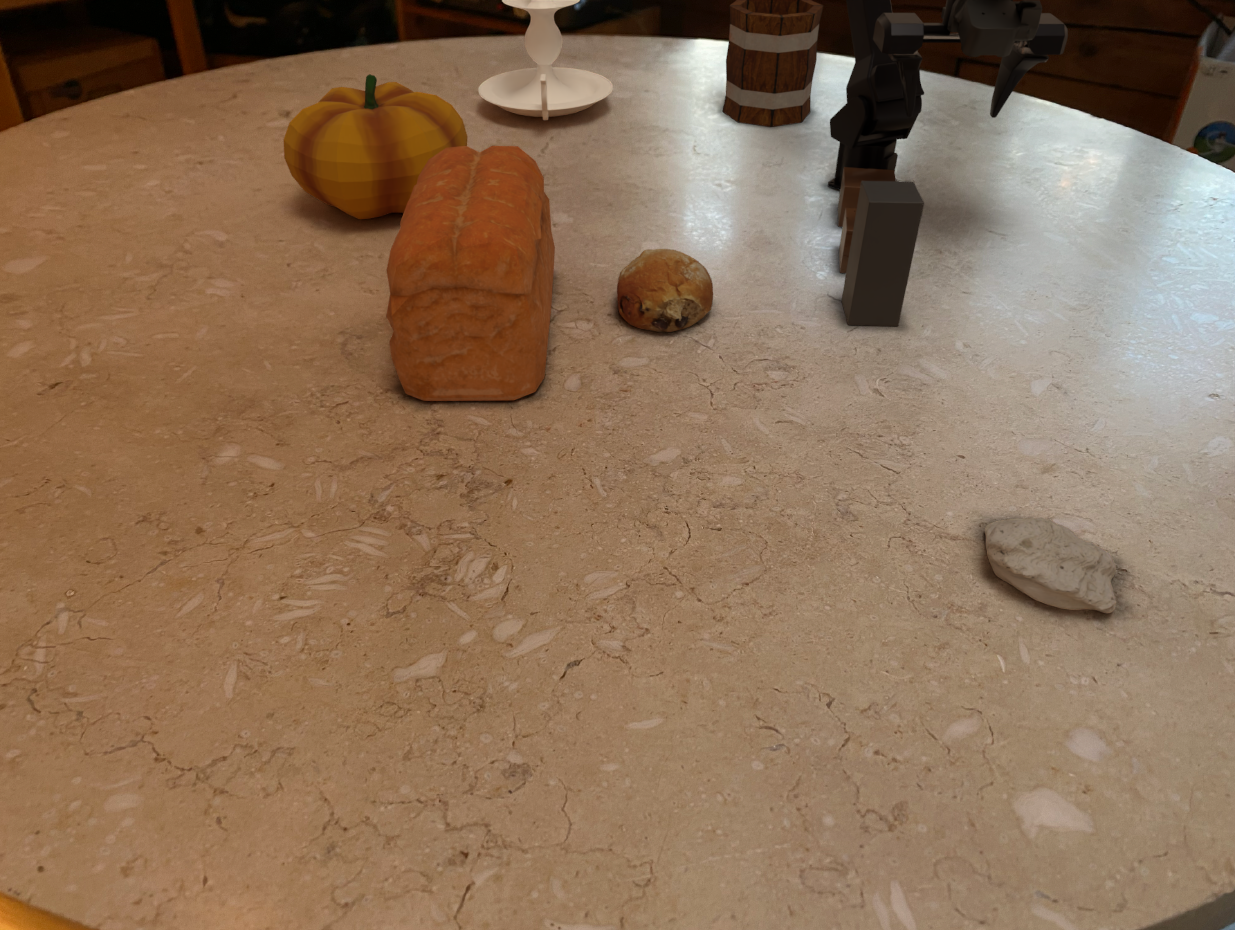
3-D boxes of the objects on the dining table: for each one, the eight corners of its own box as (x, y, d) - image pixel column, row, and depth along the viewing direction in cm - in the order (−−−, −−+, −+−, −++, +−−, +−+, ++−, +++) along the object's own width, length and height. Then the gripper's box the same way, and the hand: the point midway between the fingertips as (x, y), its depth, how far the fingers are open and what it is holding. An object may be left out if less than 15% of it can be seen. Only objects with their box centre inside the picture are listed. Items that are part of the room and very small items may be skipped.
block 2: (837, 206, 117) (843, 167, 113) (887, 209, 116) (894, 170, 113) (838, 226, 112) (844, 186, 109) (889, 230, 111) (897, 189, 108)
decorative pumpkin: (292, 181, 123) (264, 62, 114) (458, 161, 129) (445, 45, 119) (301, 246, 108) (271, 115, 99) (489, 220, 114) (477, 93, 104)
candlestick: (473, 143, 134) (451, -81, 116) (484, 88, 153) (466, -111, 136) (617, 140, 135) (617, -83, 117) (609, 86, 154) (608, -113, 136)
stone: (1169, 592, 62) (1038, 576, 60) (1129, 637, 65) (1002, 623, 63) (1100, 492, 70) (980, 475, 68) (1066, 536, 73) (951, 521, 71)
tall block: (841, 301, 98) (861, 180, 90) (889, 302, 98) (913, 181, 90) (847, 325, 94) (869, 201, 86) (898, 326, 94) (924, 202, 86)
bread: (390, 404, 84) (361, 248, 74) (432, 265, 104) (413, 129, 95) (547, 403, 84) (538, 246, 74) (558, 264, 104) (551, 128, 95)
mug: (817, 127, 139) (831, 17, 129) (725, 126, 139) (733, 17, 129) (798, 85, 154) (810, -15, 145) (716, 85, 154) (722, -15, 145)
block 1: (839, 248, 107) (845, 207, 104) (892, 252, 107) (900, 211, 103) (839, 273, 103) (846, 230, 100) (895, 277, 102) (904, 234, 99)
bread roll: (715, 332, 100) (728, 256, 98) (694, 340, 90) (708, 256, 88) (627, 317, 102) (638, 243, 100) (598, 323, 93) (608, 241, 91)
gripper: (908, -24, 88) (879, 142, 98) (1109, -23, 88) (1060, 143, 97) (885, -48, 97) (861, 106, 106) (1068, -48, 96) (1027, 107, 106)
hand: (950, 116), depth 104 cm, fingers open, 9 cm apart
